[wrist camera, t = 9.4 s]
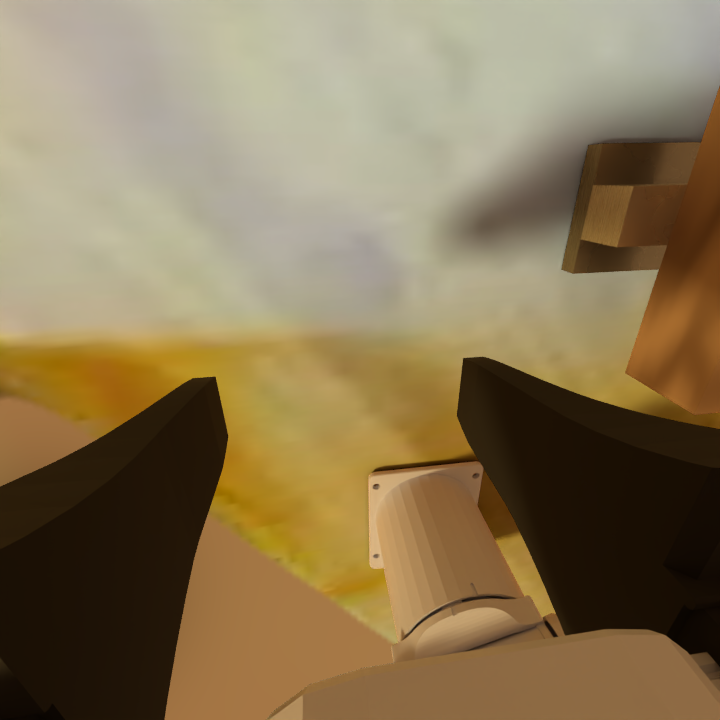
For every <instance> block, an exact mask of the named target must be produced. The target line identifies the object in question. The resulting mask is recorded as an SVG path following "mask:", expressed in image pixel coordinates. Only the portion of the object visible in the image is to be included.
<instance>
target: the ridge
mask: <svg viewBox="0 0 720 720" xmlns="http://www.w3.org/2000/svg"><path fill="white" fill-rule="evenodd" d="M700 144H701V142H680V143H602V144H594V145H588V149H587V153H586V158H585V163H584V167H583V172H582V177H581V181H580V186H579V191H578V195H577V200H576V204H575V209H574V214H573V218H572V223H571V228H570V232H569V237H568V241H567V246H566V251H565V255H564V260H563V265H562V269H561V270H564V271H567V272H570V273H573V274H575V273H594V272H614V271H633V270H653V269H660V266H661V263H662V260H663V257H664V253H665V250H666V247H667V244H668V241H669V238H670V235H671V232H672V229H673V226H674V223H675V220H676V217H677V214H678V211H679V208H680V205H681V202H682V199H683V196H684V193H685V190H686V187H687V184H688V181H689V178H690V175H691V172H692V168H693V165H694V162H695V159H696V156H697V153H698V150H699V147H700Z"/></svg>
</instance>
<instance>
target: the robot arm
mask: <svg viewBox="0 0 720 720" xmlns="http://www.w3.org/2000/svg"><path fill="white" fill-rule="evenodd" d="M457 417H458V420H459V422H460V425H461V427H462V430H463V432H464V434H465V436H466V439H467V441H468V443H469V445H470V446H471V448H472V450H473V452H474V453H475V455H476V457H477V458H478V460H479V462H477V461H475V462H465V463H456V464H446V465H437V466H427V467H417V468H408V469H398V470H389V471H379V472H373V473H371V474H370V475H369V478H368V491H369V562H370V567H372V568H374V569H377V568H384V572H385V577H386V582H387V587H388V593H389V598H390V603H391V608H392V613H393V618H394V623H395V629H396V634H397V639H398V643H396V644H394V645H392V646H391V650H392V655H393V661H394V663H391V664H385V665H379V666H372V667H366V668H361V669H358V670H355V671H352V672H348V673H345V674H342V675H338V676H335V677H332V678H329V679H326V680H322V681H319V682H316V683H313V684H310V685H308V686H307V687H305V688H304V689H303V690H301V691H300V692H299V693H297V694H296V695H295V696H294V697H292V698H290V699H289V700H288V701H286V702H285V703H284V704H282V705H281V706H280V707H278V708H277V709H276V710H274V712H273V713H272V714H271V715H270V716H269V717H268V718H267V720H720V429H716V428H710V427H704V426H699V425H693V424H688V423H683V422H678V421H674V420H669V419H665V418H661V417H656V416H652V415H648V414H643V413H639V412H636V411H632V410H628V409H624V408H621V407H618V406H614V405H611V404H607V403H604V402H601V401H597V400H594V399H591V398H588V397H585V396H582V395H580V394H577V393H574V392H572V391H569V390H566V389H564V388H561V387H558V386H556V385H553V384H551V383H548V382H546V381H543V380H541V379H538V378H536V377H534V376H531V375H529V374H527V373H524V372H522V371H520V370H517V369H515V368H512V367H510V366H508V365H505V364H503V363H500V362H498V361H495V360H492V359H489V358H486V357H474V358H463V366H462V374H461V383H460V392H459V401H458V410H457ZM227 441H228V433H227V428H226V424H225V419H224V414H223V410H222V405H221V400H220V396H219V391H218V386H217V382H216V377H205V378H193V379H191V380H189V381H187V382H185V383H184V384H182V385H181V386H179V387H178V388H176V389H175V390H173V391H172V392H170V393H169V394H167V395H166V396H164V397H163V398H161V399H160V400H158V401H157V402H156V403H154V404H153V405H151V406H150V407H148V408H147V409H145V410H144V411H142V412H141V413H139V414H138V415H136V416H135V417H133V418H131V419H130V420H128V421H127V422H125V423H123V424H122V425H120V426H119V427H117V428H115V429H114V430H112V431H111V432H109V433H108V434H106V435H104V436H102V437H101V438H99V439H97V440H96V441H94V442H92V443H90V444H88V445H87V446H85V447H83V448H81V449H79V450H77V451H75V452H73V453H71V454H69V455H68V456H66V457H64V458H62V459H60V460H58V461H56V462H54V463H52V464H49V465H47V466H45V467H43V468H41V469H38V470H36V471H34V472H32V473H29V474H27V475H25V476H23V477H21V478H19V479H16V480H14V481H12V482H10V483H7V484H5V485H3V486H1V487H0V720H164V718H165V711H166V705H167V698H168V692H169V686H170V680H171V674H172V668H173V663H174V657H175V651H176V645H177V640H178V634H179V629H180V624H181V619H182V614H183V608H184V604H185V598H186V593H187V589H188V584H189V579H190V575H191V570H192V565H193V560H194V557H195V553H196V549H197V546H198V542H199V539H200V536H201V533H202V530H203V527H204V524H205V520H206V518H207V515H208V512H209V509H210V506H211V503H212V499H213V496H214V493H215V490H216V487H217V484H218V481H219V478H220V475H221V472H222V468H223V464H224V459H225V453H226V447H227ZM483 468H484V470H485V471H486V473H487V475H488V476H489V478H490V479H491V481H492V483H493V484H494V486H495V487H496V489H497V491H498V492H499V494H500V496H501V497H502V499H503V500H504V502H505V504H506V506H507V507H508V509H509V511H510V513H511V515H512V516H513V518H514V520H515V522H516V525H517V527H518V529H519V531H520V533H521V535H522V537H523V539H524V541H525V543H526V546H527V548H528V550H529V552H530V554H531V556H532V559H533V561H534V563H535V565H536V568H537V570H538V572H539V574H540V577H541V579H542V581H543V583H544V586H545V588H546V591H547V593H548V595H549V598H550V600H551V603H552V605H553V608H554V610H555V612H556V614H554V613H551V614H549V615H546V616H544V617H543V619H542V617H541V615H540V614H539V612H538V610H537V608H536V606H535V604H534V602H533V600H532V599H531V597H530V596H525V597H524V595H523V593H522V591H521V589H520V587H519V585H518V583H517V581H516V579H515V577H514V576H513V574H512V572H511V570H510V568H509V566H508V564H507V562H506V560H505V558H504V556H503V554H502V552H501V551H500V549H499V547H498V545H497V543H496V541H495V539H494V537H493V535H492V533H491V531H490V529H489V527H488V526H487V524H486V522H485V520H484V518H483V516H482V514H481V512H480V510H479V508H478V506H477V505H478V499H479V493H480V487H481V481H482V474H483ZM475 473H476V474H475ZM473 474H474V475H473ZM374 484H378V485H376V486H375V485H374Z"/></svg>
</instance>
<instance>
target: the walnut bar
mask: <svg viewBox="0 0 720 720" xmlns="http://www.w3.org/2000/svg"><path fill="white" fill-rule="evenodd" d="M625 373H626V374H628V375H629V376H631V377H633V378H634V379H636V380H638V381H639V382H641V383H643V384H644V385H646V386H648V387H649V388H651V389H652V390H654V391H656V392H657V393H659V394H661V395H662V396H664V397H666V398H667V399H669V400H670V401H672V402H674V403H675V404H677V405H679V406H680V407H682V408H684V409H685V410H687V411H688V412H690V413H692V414H693V415H699V414H709V413H719V412H720V87H719V90H718V93H717V96H716V99H715V102H714V105H713V108H712V111H711V114H710V117H709V120H708V123H707V126H706V129H705V132H704V135H703V138H702V141H701V144H700V147H699V150H698V153H697V156H696V159H695V162H694V165H693V168H692V172H691V175H690V178H689V181H688V184H687V187H686V190H685V193H684V196H683V199H682V202H681V205H680V208H679V211H678V214H677V217H676V220H675V223H674V226H673V229H672V232H671V235H670V238H669V241H668V244H667V247H666V250H665V253H664V257H663V260H662V263H661V266H660V269H659V272H658V275H657V278H656V281H655V284H654V287H653V290H652V293H651V296H650V299H649V302H648V305H647V308H646V311H645V314H644V317H643V320H642V323H641V326H640V329H639V332H638V335H637V338H636V342H635V345H634V348H633V351H632V354H631V357H630V360H629V363H628V366H627V369H626V372H625Z"/></svg>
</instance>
